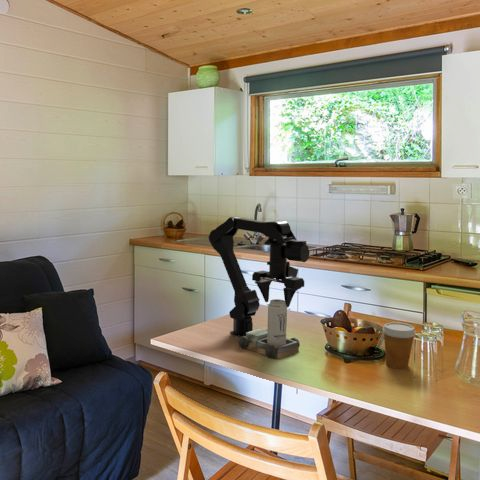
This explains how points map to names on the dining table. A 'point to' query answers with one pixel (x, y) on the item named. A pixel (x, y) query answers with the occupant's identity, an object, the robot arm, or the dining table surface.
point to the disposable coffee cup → (398, 344)
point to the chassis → (258, 343)
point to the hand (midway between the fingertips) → (276, 304)
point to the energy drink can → (277, 323)
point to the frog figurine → (381, 340)
